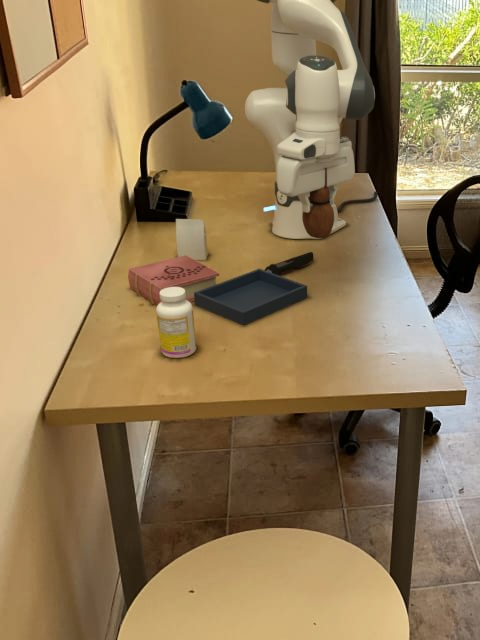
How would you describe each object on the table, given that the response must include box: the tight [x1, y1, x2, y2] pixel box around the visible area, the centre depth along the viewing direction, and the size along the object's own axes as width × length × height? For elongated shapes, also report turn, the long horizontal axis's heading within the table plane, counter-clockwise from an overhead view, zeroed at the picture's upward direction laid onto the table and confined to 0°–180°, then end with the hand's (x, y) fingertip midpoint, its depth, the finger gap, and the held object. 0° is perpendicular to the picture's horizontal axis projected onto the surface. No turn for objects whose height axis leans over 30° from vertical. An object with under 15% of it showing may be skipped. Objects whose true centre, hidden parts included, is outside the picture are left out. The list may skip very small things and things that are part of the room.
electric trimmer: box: [264, 251, 315, 276], centre depth 186 cm, size 4×16×3 cm, turn 143°
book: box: [127, 255, 220, 307], centre depth 171 cm, size 14×15×5 cm
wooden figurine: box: [302, 168, 334, 239], centre depth 158 cm, size 7×6×15 cm
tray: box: [194, 268, 309, 326], centre depth 168 cm, size 20×16×3 cm
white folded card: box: [175, 218, 209, 261], centre depth 189 cm, size 4×7×10 cm, turn 95°
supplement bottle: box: [155, 287, 197, 359], centre depth 144 cm, size 7×7×13 cm
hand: (318, 208), depth 158 cm, fingers closed on wooden figurine, 5 cm apart
